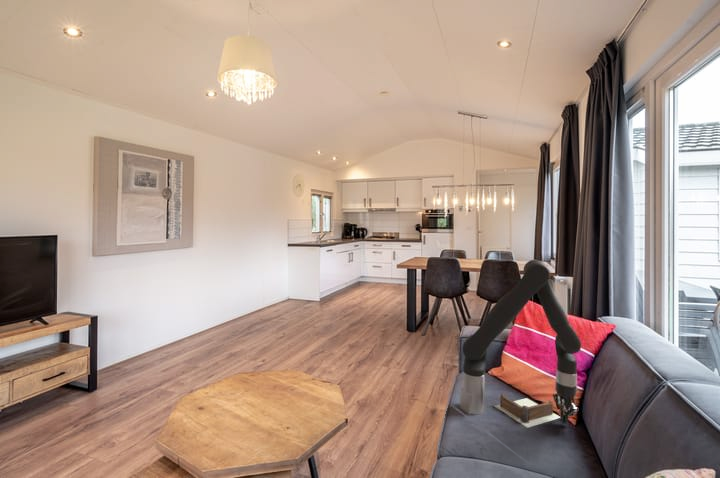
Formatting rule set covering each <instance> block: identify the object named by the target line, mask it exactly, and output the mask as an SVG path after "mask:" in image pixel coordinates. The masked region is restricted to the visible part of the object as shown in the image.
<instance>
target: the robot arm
mask: <svg viewBox="0 0 720 478" xmlns="http://www.w3.org/2000/svg"><path fill="white" fill-rule="evenodd" d="M550 278H551V271H550V269H549V267H548V266H547V264H546V263H544V262H543V261H541V260H538V259H531V260H529V261H527V262H526V263H525V264H524V266H523V275H522V276H521V279H520V280H519V282H518V283H517V284H516V285H515V286H514V287H513V288H512V289H511V290H510V291H509V292H507V293H505V294H504V295H503V296H502V297H500V298H499V299H498V301H497V302H496V303H495V304H494V306H492V308H491V309H490V311H488V313H487V315H486V316H485V318H484V319H483V321H482V324H481V325H480V326H479V327H478V328H477V330H476V331H475V332H474V333H473V334H472V335H469V336H468V337H467V338H466V339H465V341H464V342H463V344H462V354H463V356H464V359H463V360H464V361H463V365H462V387H460V400H459V402H460V403H459V409H461V410H462V411H463V412H465V413H466V414H467V415H474V416H475V415H482V414H483V413H484V409H485V408H484V405H485V376H486V367H487V351H488V350H487V349H488V348H489V347H490V345H491V344H492V343H493V341H494V340H495V339H496V338H497V337H498V336H499V335H500V334H502V332H504V330H505V329H507V328H508V326H509V325H510V324H511V323H513V321H514V320H515V319H516V318H517V316H518V315H519V313H520V312H521V311H522V310H523V309H524V307H526V305H527V303H528V302H529V301H530V300H531V298H533V296H534V295H537V297H538V299H539V301H540V304H541V308H542V309H543V312H544V315H545V317H546V319H547V321H548V324H549V326H550V328H551V329H552V330H553V332H555V333H556V336H555V338H554V346H555V353H556V358H557V360H556V361H557V362H556V373H555V386H554V387H555V388H554V390H555V392H556V393H552V397H553V400H554V401H553V402H554V404H555V406H556V409H558V410H559V413H560V417H561V418H560V422H561V423H562V424H568V423H569V418H570V417H572V416H574V415H575V414H577V412H579V411H580V409H579V407H578V406H576V405H575V402H576V401H575V397H576V395H577V393H578V392H577V390H578V388H577V387H578V374H577V372H578V361H577V359H576V358H575V356H574V355H575V354H578V353H579V352H580V351H581V348H582V343H581V340H580V337H579V336H578V334H577V332H576V331H575V329H574V328H573V326H572V325H571V324H570V322H569V321H570V320H569V319H568V317H567V314H566V311H565V310H564V308H563V307H562V304H561V302H560V301H559V298H558V297H557V296H556V293H555V291H554V289H553V286H552V284H551V282H550V280H551V279H550Z"/></svg>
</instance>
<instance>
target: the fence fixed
mask: <svg viewBox="0 0 720 478" xmlns="http://www.w3.org/2000/svg"><path fill="white" fill-rule="evenodd" d="M499 399H500V401H499V405H500V407H502V408H504V409H505V410H507V411H508V412H510V413H512V414H513V415H515V416H516V417H518V418H519V419H522V421H523V422H528V412H529V407H527V406H520V405H519V404H517V403H515V402H514V401H515V400H512V399H510V398H508V397H507V396H505V394H504V393H500V397H499Z"/></svg>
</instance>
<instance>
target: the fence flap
mask: <svg viewBox="0 0 720 478" xmlns="http://www.w3.org/2000/svg"><path fill="white" fill-rule="evenodd" d="M553 413H554V401H552V400H548V402H547V401H546V402H544V403H540V404H538V405H535V406H531V407H529V412H528V420H532V419H536V418H539V417H543V416H547V415H551V414H553Z"/></svg>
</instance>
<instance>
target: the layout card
mask: <svg viewBox="0 0 720 478" xmlns="http://www.w3.org/2000/svg"><path fill="white" fill-rule="evenodd" d="M513 401H514V402H515V403H517V404H519V405H520V406H527V407H531V406H535V405H539V404H538V403H536V402H534V401H533V400H531V399H529V398H528V397H526V398H522V399H517V400H513ZM494 407H495V408H496V409H498V410H499V411H501V412H502V413H504V414H506V415H507V416H508V417H510V418H512V419H513V420H515V421H516V422H518V423H519V424H521V425H523V426H524V427H525V428H527V429H528V428H532V427H534V426H537V425H542V424H544V423H548V422H551V421H554V420H557V419H561V415H558V414H556V413H554V412H553V414H551V415H547V416H543V417H539V418H536V419H532V420H528V422H523V421H522V419H519V418H518V417H516V416H515V415H513V414H512V413H510V412H508V411H507V410H505V409H504V408H502V407H500V404H497V405H494Z"/></svg>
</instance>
